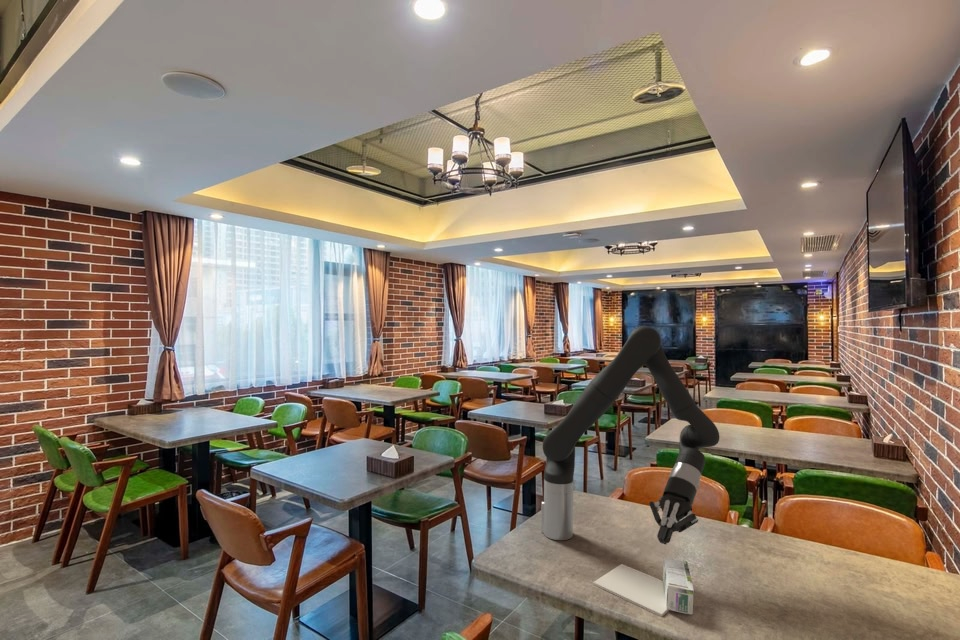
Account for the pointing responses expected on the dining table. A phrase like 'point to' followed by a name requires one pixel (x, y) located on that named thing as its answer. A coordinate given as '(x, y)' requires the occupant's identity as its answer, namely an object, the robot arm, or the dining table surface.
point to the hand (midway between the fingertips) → (662, 542)
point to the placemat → (635, 588)
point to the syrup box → (677, 586)
